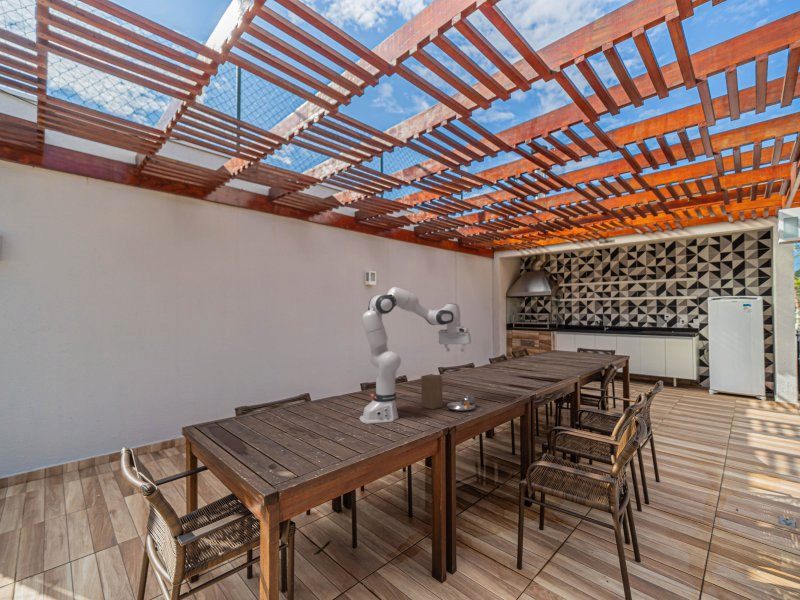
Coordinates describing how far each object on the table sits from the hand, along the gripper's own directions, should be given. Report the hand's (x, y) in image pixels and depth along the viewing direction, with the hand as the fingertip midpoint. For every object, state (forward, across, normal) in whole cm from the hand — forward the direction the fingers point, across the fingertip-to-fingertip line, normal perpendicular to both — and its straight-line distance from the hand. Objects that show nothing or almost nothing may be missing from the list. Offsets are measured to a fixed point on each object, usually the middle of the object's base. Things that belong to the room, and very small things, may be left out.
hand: (455, 351), depth 225 cm
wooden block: (+36, -17, -2) cm, 39 cm away
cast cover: (+33, +5, +3) cm, 34 cm away
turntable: (+36, +2, 0) cm, 36 cm away
